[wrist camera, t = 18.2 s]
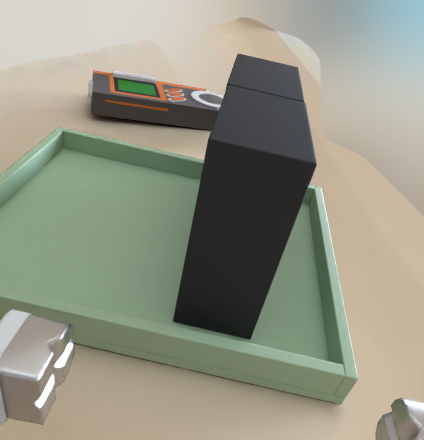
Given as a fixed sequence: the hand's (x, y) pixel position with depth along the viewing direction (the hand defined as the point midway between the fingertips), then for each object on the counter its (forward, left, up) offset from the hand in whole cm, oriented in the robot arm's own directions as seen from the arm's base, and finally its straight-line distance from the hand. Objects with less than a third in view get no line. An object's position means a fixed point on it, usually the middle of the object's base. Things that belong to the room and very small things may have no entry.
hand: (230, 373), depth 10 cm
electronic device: (-9, +35, -8) cm, 37 cm away
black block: (0, +11, -7) cm, 13 cm away
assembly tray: (-4, +14, -8) cm, 16 cm away
